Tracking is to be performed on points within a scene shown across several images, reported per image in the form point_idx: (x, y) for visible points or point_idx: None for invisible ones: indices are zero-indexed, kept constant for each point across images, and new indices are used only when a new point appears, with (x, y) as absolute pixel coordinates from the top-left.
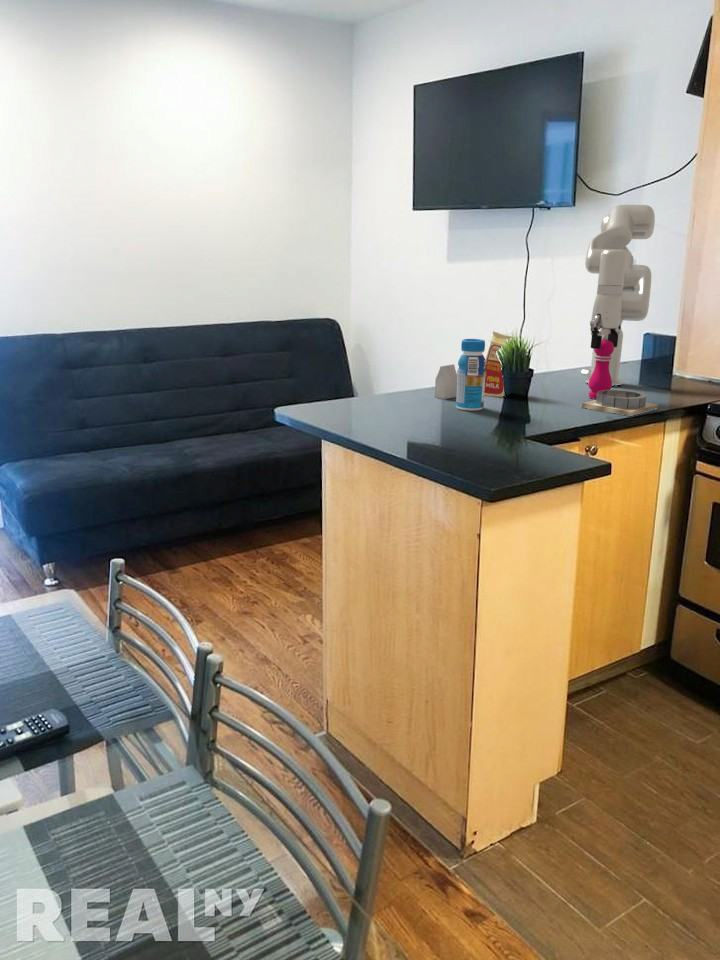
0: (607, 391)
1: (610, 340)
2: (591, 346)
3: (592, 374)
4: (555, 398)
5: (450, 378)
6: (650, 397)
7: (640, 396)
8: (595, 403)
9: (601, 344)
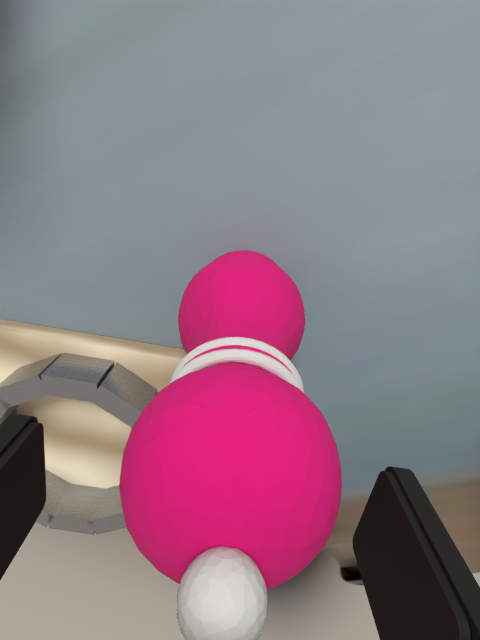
0: (94, 400)
1: (398, 559)
2: (3, 430)
3: (207, 298)
4: (80, 125)
5: None
6: (400, 438)
7: (82, 520)
8: (13, 367)
9: (124, 513)
